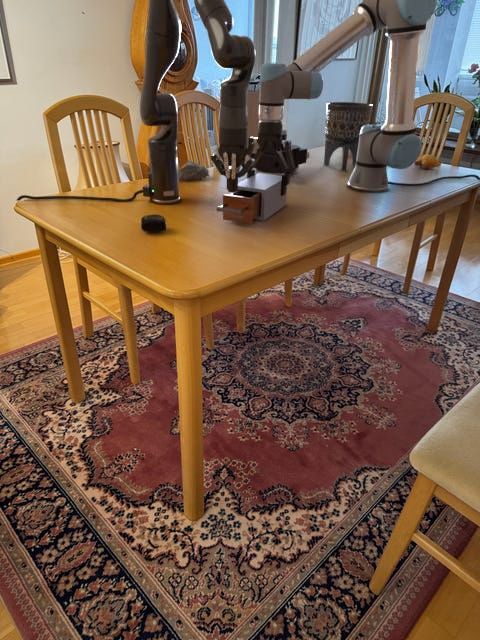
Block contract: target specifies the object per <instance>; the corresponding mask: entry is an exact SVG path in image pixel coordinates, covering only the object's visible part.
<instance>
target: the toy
mask: <svg viewBox="0 0 480 640" xmlns="http://www.w3.org/2000/svg"><path fill="white" fill-rule="evenodd" d="M413 165H414V166H416V167H417V166H418V167H422V168H423V169H426V170H432V169H435V168H438V167H440V166H441V165H442V162H441V160H437V159H436V157H435V156H434V155H432V154H424V155H419V157H418V159H417V160H416V161H415V162H414V163H413Z"/></svg>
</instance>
